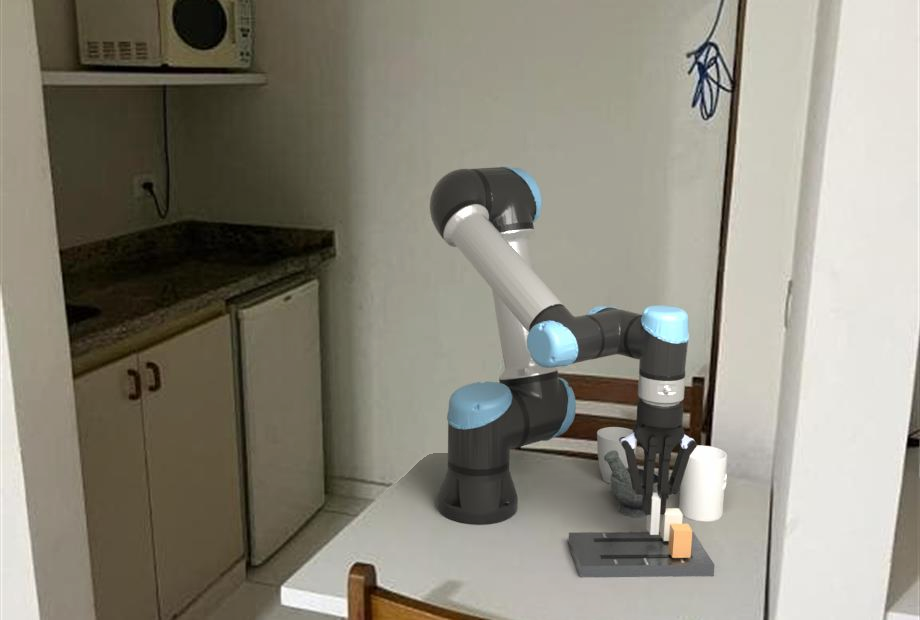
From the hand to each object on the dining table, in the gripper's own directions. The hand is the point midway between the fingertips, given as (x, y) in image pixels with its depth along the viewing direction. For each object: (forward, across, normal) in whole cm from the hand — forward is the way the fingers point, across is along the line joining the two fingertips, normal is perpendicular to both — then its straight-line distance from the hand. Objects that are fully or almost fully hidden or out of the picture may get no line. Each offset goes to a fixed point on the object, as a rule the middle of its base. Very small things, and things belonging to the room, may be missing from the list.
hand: (652, 531), depth 158 cm
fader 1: (+1, +3, 0) cm, 3 cm away
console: (+4, -3, -3) cm, 5 cm away
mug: (+4, +13, +17) cm, 22 cm away
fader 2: (+1, +3, -6) cm, 7 cm away
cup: (+4, 0, +31) cm, 31 cm away
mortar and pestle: (+4, 0, +16) cm, 17 cm away
